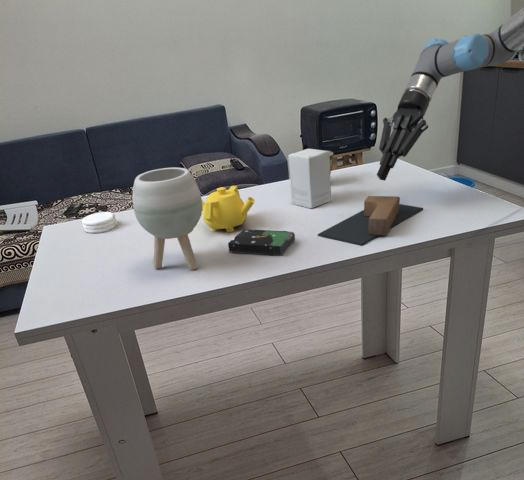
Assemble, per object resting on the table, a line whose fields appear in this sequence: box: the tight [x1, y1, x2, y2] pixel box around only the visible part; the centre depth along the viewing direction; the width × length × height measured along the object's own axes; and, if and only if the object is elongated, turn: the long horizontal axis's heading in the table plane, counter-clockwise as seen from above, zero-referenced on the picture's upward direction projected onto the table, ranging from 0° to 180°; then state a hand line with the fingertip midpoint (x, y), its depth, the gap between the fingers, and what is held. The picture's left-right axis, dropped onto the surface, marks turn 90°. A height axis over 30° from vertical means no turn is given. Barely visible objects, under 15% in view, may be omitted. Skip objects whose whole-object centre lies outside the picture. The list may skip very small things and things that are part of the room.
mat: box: [317, 203, 424, 247], centre depth 146 cm, size 14×30×1 cm, turn 137°
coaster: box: [81, 211, 118, 234], centre depth 165 cm, size 10×10×4 cm
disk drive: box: [227, 228, 296, 256], centre depth 139 cm, size 10×3×15 cm
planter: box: [132, 167, 203, 271], centre depth 130 cm, size 16×16×22 cm
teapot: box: [202, 185, 255, 233], centre depth 152 cm, size 20×18×11 cm
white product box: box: [288, 148, 332, 209], centre depth 162 cm, size 9×9×15 cm
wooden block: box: [363, 195, 401, 236], centre depth 143 cm, size 9×4×18 cm
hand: (380, 177), depth 143 cm, fingers closed
